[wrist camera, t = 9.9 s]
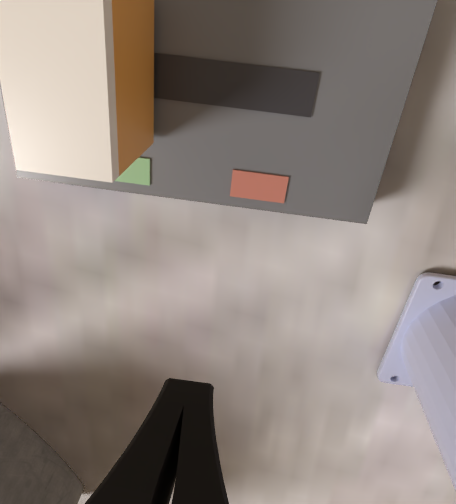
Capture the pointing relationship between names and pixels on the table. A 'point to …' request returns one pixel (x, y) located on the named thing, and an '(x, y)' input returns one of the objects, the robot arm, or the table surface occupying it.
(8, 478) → the hip flask
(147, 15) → the knob
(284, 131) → the panel
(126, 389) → the table surface
